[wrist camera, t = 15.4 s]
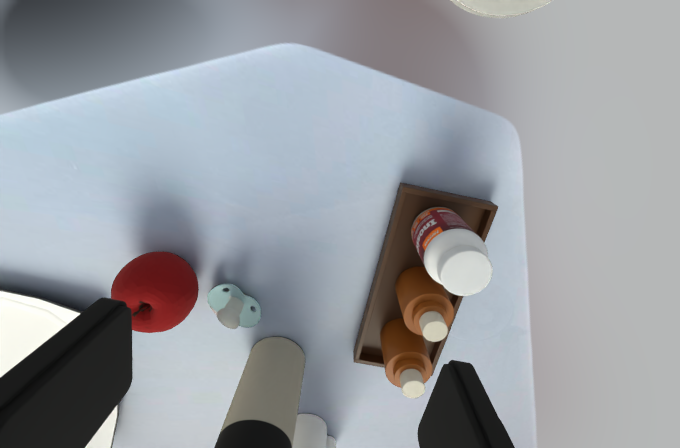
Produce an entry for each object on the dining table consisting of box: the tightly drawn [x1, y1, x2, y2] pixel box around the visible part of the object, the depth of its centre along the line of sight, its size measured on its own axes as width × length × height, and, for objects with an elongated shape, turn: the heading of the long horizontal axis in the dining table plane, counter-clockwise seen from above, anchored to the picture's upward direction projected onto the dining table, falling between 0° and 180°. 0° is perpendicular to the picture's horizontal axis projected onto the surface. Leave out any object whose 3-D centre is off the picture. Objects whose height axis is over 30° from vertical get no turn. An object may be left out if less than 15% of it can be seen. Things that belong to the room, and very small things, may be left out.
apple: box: [111, 252, 199, 333], centre depth 38 cm, size 9×9×10 cm
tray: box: [353, 183, 498, 376], centre depth 42 cm, size 25×11×2 cm, turn 168°
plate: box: [0, 289, 119, 448], centre depth 47 cm, size 29×29×3 cm
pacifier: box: [207, 284, 261, 329], centre depth 42 cm, size 7×6×6 cm
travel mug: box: [215, 337, 305, 448], centre depth 39 cm, size 8×8×18 cm
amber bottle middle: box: [395, 267, 454, 342], centre depth 38 cm, size 6×6×9 cm
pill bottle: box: [411, 207, 493, 296], centre depth 35 cm, size 6×6×11 cm
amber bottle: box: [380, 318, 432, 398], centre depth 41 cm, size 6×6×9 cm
